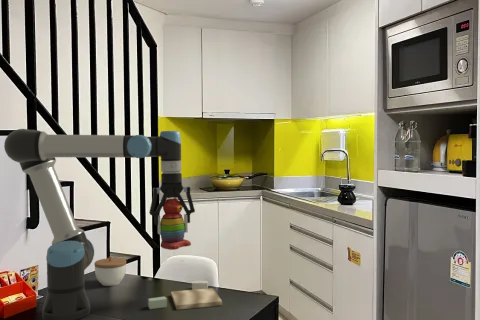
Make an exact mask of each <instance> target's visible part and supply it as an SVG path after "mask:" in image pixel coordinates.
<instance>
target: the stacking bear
mask: <svg viewBox="0 0 480 320" xmlns="http://www.w3.org/2000/svg"><path fill="white" fill-rule="evenodd" d="M162 209H163V212H164V214H163V215H162V217H160V226H161V234H159V236H160V238H161V242H160V248H162V249H164V250H169V251H173V250H178V249H180V248H185V247H190V246H191V245H192V243H191V241H190V240H188V239H185V233H186V232H185V224H184V216H183V215H182V213H181V212H182V210H183V207H182V204H181V203H180V201H179V200H178V198H177V197H176V198H174V197H173V198H167V199H166V200H165V203H164V205H163V207H162Z"/></svg>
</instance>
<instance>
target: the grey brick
mask: <svg viewBox="0 0 480 320" xmlns="http://www.w3.org/2000/svg"><path fill="white" fill-rule="evenodd" d="M207 288H209V282H208V280H192V282H191V290H195V289H207Z"/></svg>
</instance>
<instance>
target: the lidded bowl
mask: <svg viewBox="0 0 480 320" xmlns="http://www.w3.org/2000/svg"><path fill="white" fill-rule="evenodd" d="M126 269H127V260H126V259H125V258H122V257H113V256H108V257H107V258H101V259H98V260H96V261H95V262H94V272H95V277H96V279H97V281H98V282H99V283H100V284H101V285H102V286H105V287H110V286H111V287H112V286H117V285H120V283H121V281H122V280H123V279H124V278H125V275H126Z"/></svg>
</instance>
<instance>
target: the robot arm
mask: <svg viewBox="0 0 480 320" xmlns="http://www.w3.org/2000/svg"><path fill="white" fill-rule="evenodd" d="M181 138H182V137H181V133H180V132H179V130H161V131H160V133H159V136H145V135H143V134H136V135H129V134H128V135H123V134H121V135H120V134H119V135H118V134H117V135H116V134H48V133H47V132H46V131H43V130H42V131H41V130H38V129H28V128H19V129H15V130H13V131H12V132H10V133H9V134H8V135H7V136H6V138H5V140H4V146H3V147H4V151H5V154H6V155H7V157H8V158H10V159H11V160H12V161H14V162H15V163H19V165H20V168H21V171H22V172H23V173H25V174H27V175H29V178H30V181H31V183H32V185H33V188H34V190H35V193H36V196H37V198H38V200H39V202H40V206H41V207H42V210H43V213H44V215H45V218H46V220H47V222H48V225H49V227H50V231H51V233H52V236H53V239H52V241H51V244H50V246H49V247H48V248H47V252H46V257H45V258H46V283H47V285H46V287H47V291H46V292H47V294H46V297H45V299H44V303H43V306H42V310H41V319H42V320H79V319H83V318H86V317H87V316H88V315H89V314H90V313H91V304H90V300H89V297H88V296H87V291H86V290H85V289H86V288H85V271H86V269H87V268H88V267H89V266H90V265H91V263H92V262H93V260H94V257H95V247H94V245H93V243H92V242H91V241H90V239H88V238H87V237H88V236H86V233H85V230H84V229H82V228H79V227H78V225H77V222H76V220H75V217H74V215H73V212H72V209H71V207H70V205H69V202H68V199H67V197H66V194H65V192H64V189H63V186H62V185H61V182H60V180H59V177H58V173H57V171H56V169H55V164H56V163H57V160H56V159H57V158H130V159H131V158H132V159H134V158H135V159H142V158H153V157H155V158H159V157H160V172H161V174H160V178H161V179H160V180H161V181H160V183H161V185H160V186H159V187H153V188H152V194H153V195H152V198H151V203H150V207H149V212H148V213H149V215H150V216H153V217H154V226H157V234H158V235H160V234H161V226H160V222H161V216H160V215H159V214H160V212H161V210H162V209H163V205H164V203H165V200H167V199H172V198H173V199H174V198H176V199H177V200H178V201H179V202H180V203H181V204H182V209H183V210H184V212H185V214H184V213H183V220H184V224H185V233H188V230H189V228H188V227H189V226H188V224H190V223H191V214H193V213H195V212H196V210H195V206H194V202H193V198H192V194H191V186H183V181H182V180H183V178H182V139H181ZM160 191H161V193H162V194H163V195H162V197H161V200H160V201H159V203H158V205H157V207H156V204H157V199H158V195H159V194H160ZM182 191H183V192H185V195H186V199H187V202H188V205H189V206H187V204H186V202H185V200H184V198H183V197H182V195H181V193H182ZM188 207H189V208H188ZM155 208H156V209H155Z"/></svg>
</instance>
